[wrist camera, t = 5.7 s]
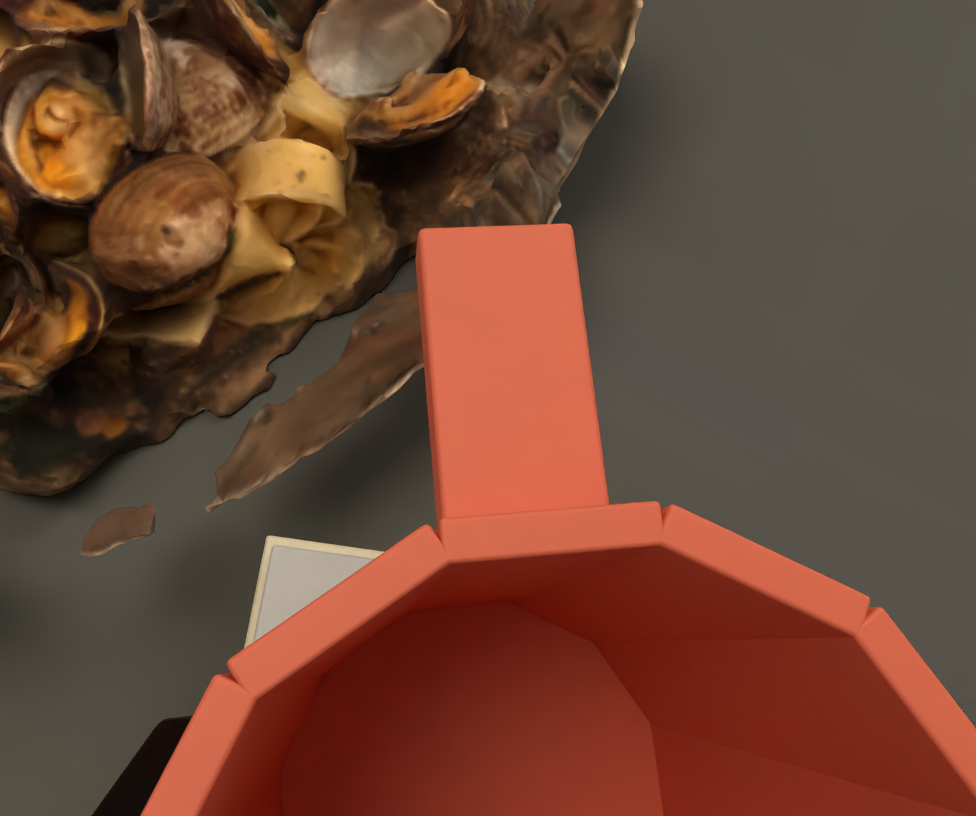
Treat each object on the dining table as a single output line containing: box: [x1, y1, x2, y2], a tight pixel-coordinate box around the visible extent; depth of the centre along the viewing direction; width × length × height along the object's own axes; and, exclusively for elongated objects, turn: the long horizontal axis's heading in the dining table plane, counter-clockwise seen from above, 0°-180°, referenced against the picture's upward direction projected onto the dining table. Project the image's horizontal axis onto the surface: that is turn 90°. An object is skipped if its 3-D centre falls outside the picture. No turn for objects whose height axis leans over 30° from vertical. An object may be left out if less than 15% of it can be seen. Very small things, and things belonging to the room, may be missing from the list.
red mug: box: [140, 224, 976, 816], centre depth 9 cm, size 8×6×8 cm
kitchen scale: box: [244, 535, 384, 648], centre depth 16 cm, size 7×8×3 cm
